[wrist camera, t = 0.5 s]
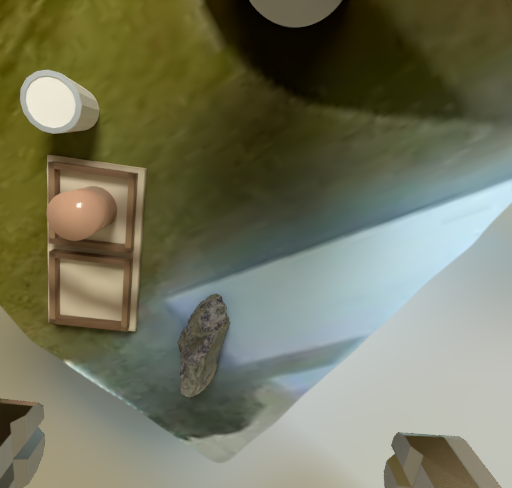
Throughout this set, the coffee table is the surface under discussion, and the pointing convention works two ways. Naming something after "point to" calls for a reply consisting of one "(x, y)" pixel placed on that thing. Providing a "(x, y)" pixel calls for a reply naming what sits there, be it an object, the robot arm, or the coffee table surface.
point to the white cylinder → (57, 103)
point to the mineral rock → (202, 345)
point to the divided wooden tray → (97, 249)
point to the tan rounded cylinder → (81, 212)
